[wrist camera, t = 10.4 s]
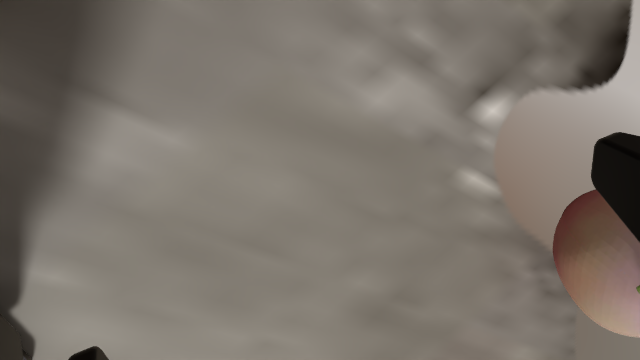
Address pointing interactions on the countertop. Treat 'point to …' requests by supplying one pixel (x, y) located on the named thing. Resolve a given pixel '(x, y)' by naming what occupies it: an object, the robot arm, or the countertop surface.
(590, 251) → the decorative fruit
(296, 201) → the countertop surface
